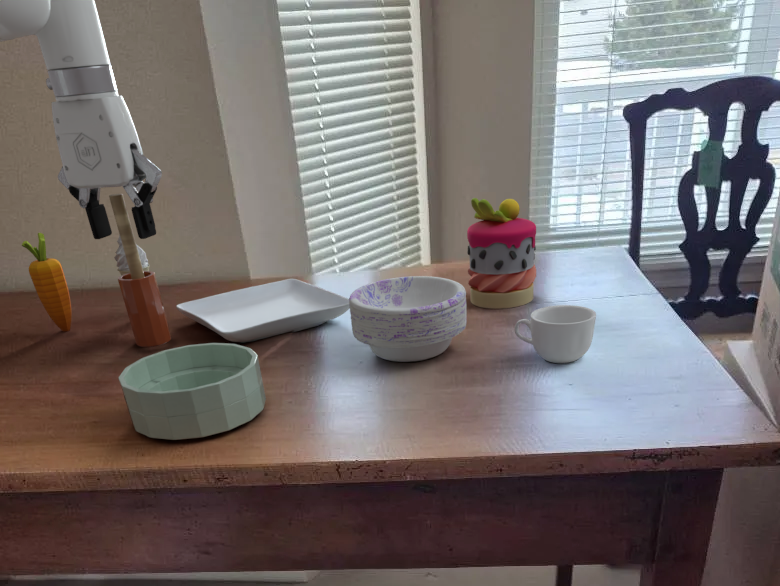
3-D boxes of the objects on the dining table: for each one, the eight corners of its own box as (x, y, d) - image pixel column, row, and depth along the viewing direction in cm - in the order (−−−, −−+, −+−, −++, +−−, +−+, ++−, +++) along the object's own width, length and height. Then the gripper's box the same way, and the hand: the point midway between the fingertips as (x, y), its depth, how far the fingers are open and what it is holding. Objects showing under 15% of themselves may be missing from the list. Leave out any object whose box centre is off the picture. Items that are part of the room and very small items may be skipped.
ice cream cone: (156, 310, 125) (131, 216, 116) (167, 316, 121) (142, 219, 113) (127, 317, 122) (99, 222, 114) (137, 324, 119) (109, 225, 110)
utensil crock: (130, 349, 108) (110, 280, 103) (150, 337, 112) (132, 270, 106) (159, 350, 107) (140, 280, 101) (178, 339, 110) (161, 270, 105)
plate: (295, 295, 126) (292, 274, 124) (359, 321, 111) (356, 298, 109) (177, 324, 117) (172, 303, 115) (229, 357, 102) (224, 333, 100)
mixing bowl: (107, 438, 82) (90, 388, 79) (182, 386, 94) (170, 340, 90) (223, 449, 77) (211, 396, 74) (288, 393, 89) (279, 345, 86)
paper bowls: (441, 376, 90) (438, 311, 85) (334, 365, 96) (326, 304, 91) (483, 335, 101) (482, 276, 97) (385, 328, 107) (380, 272, 103)
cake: (501, 286, 121) (501, 186, 112) (549, 296, 114) (553, 191, 105) (454, 301, 116) (450, 198, 107) (502, 313, 109) (501, 204, 100)
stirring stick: (155, 343, 108) (115, 196, 97) (145, 342, 109) (104, 196, 97) (165, 337, 110) (126, 192, 99) (155, 337, 110) (115, 193, 99)
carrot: (57, 340, 115) (22, 239, 106) (46, 334, 118) (11, 236, 109) (88, 331, 117) (56, 232, 109) (76, 326, 120) (44, 229, 112)
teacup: (599, 348, 93) (602, 306, 90) (585, 370, 88) (588, 326, 85) (523, 343, 97) (523, 302, 94) (505, 364, 92) (505, 321, 89)
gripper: (8, 92, 91) (57, 243, 101) (122, 82, 85) (162, 243, 95) (50, 88, 97) (92, 231, 106) (160, 78, 91) (194, 230, 101)
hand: (125, 235), depth 101 cm, fingers open, 6 cm apart
